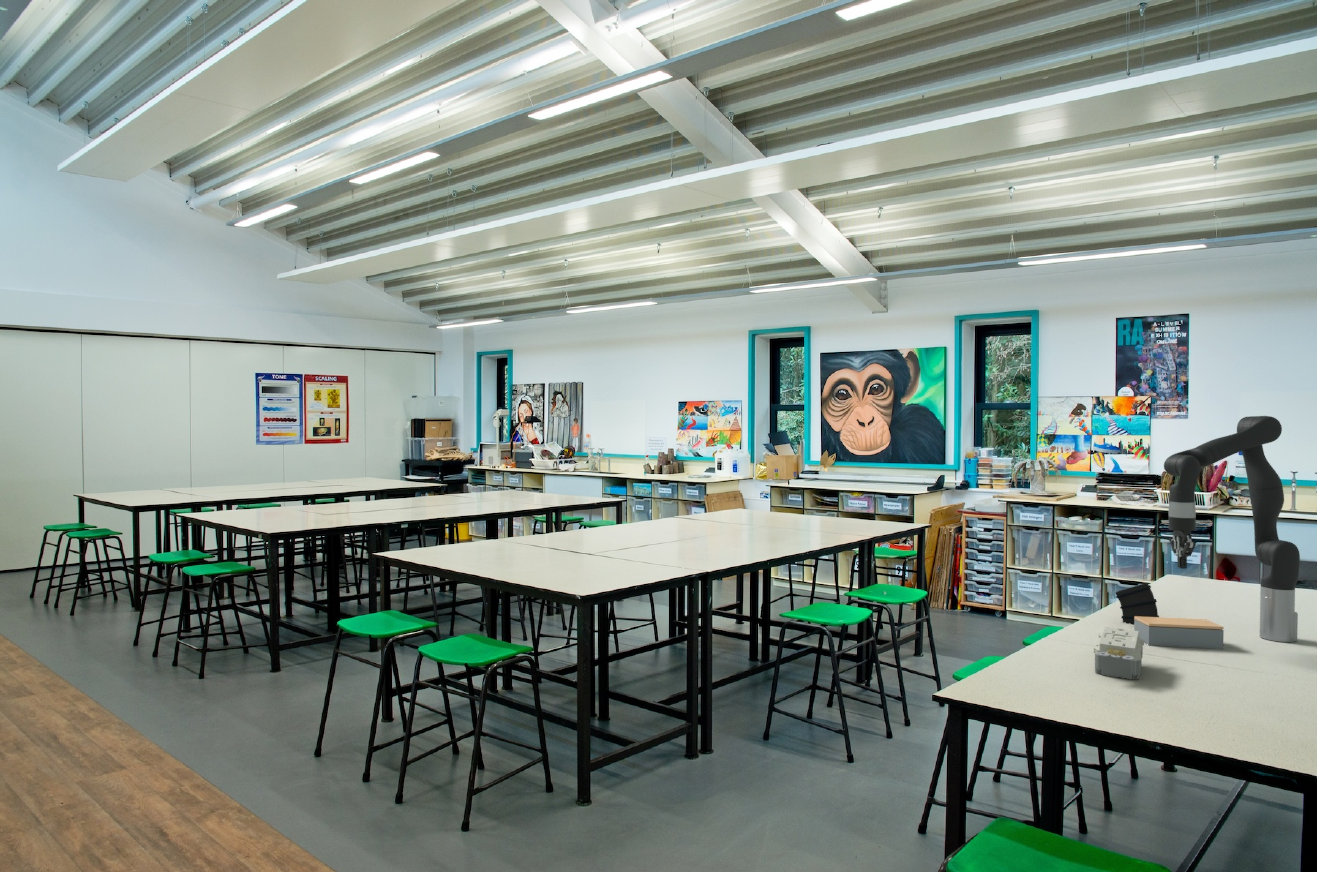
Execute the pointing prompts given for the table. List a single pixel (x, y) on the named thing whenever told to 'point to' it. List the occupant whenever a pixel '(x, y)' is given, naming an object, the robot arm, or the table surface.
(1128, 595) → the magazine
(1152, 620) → the tan flat rectangular panel
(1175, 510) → the robot arm
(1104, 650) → the electrical outlet
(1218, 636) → the grey rectangular box
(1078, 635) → the table surface
